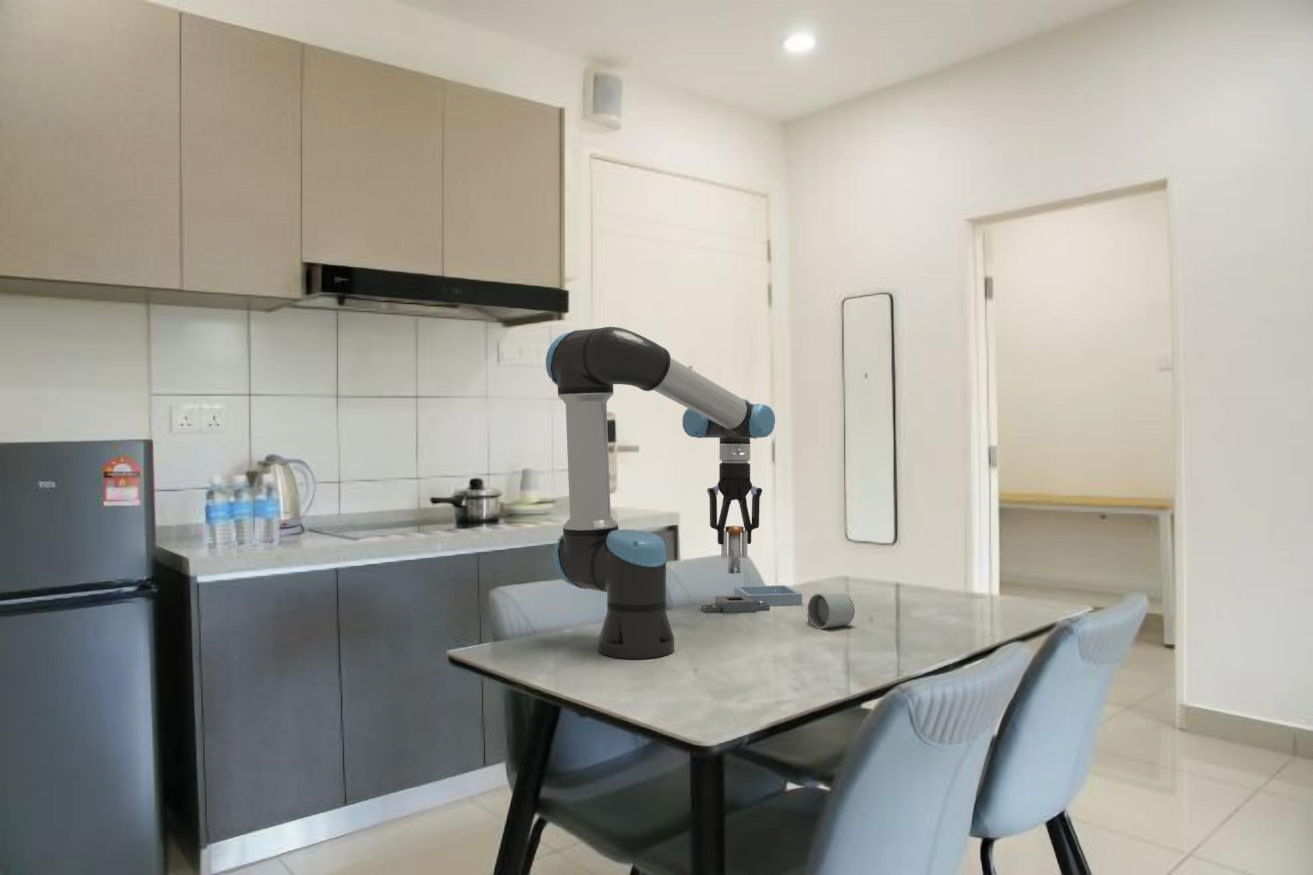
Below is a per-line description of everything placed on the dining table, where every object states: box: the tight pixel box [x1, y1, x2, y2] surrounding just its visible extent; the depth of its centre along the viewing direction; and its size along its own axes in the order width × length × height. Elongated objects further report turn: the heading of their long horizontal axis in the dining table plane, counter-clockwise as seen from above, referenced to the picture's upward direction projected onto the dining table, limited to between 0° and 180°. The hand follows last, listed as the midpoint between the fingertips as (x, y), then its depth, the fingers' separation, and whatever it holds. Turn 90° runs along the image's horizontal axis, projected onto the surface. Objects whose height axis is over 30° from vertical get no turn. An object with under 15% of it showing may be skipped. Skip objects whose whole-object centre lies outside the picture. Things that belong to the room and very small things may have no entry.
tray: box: [733, 584, 803, 607], centre depth 232 cm, size 14×13×3 cm
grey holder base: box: [700, 595, 771, 614], centre depth 221 cm, size 16×8×3 cm, turn 100°
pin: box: [724, 525, 745, 575], centre depth 221 cm, size 4×4×11 cm
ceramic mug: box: [806, 592, 856, 630], centre depth 204 cm, size 11×8×8 cm
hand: (734, 557), depth 221 cm, fingers closed on pin, 4 cm apart
